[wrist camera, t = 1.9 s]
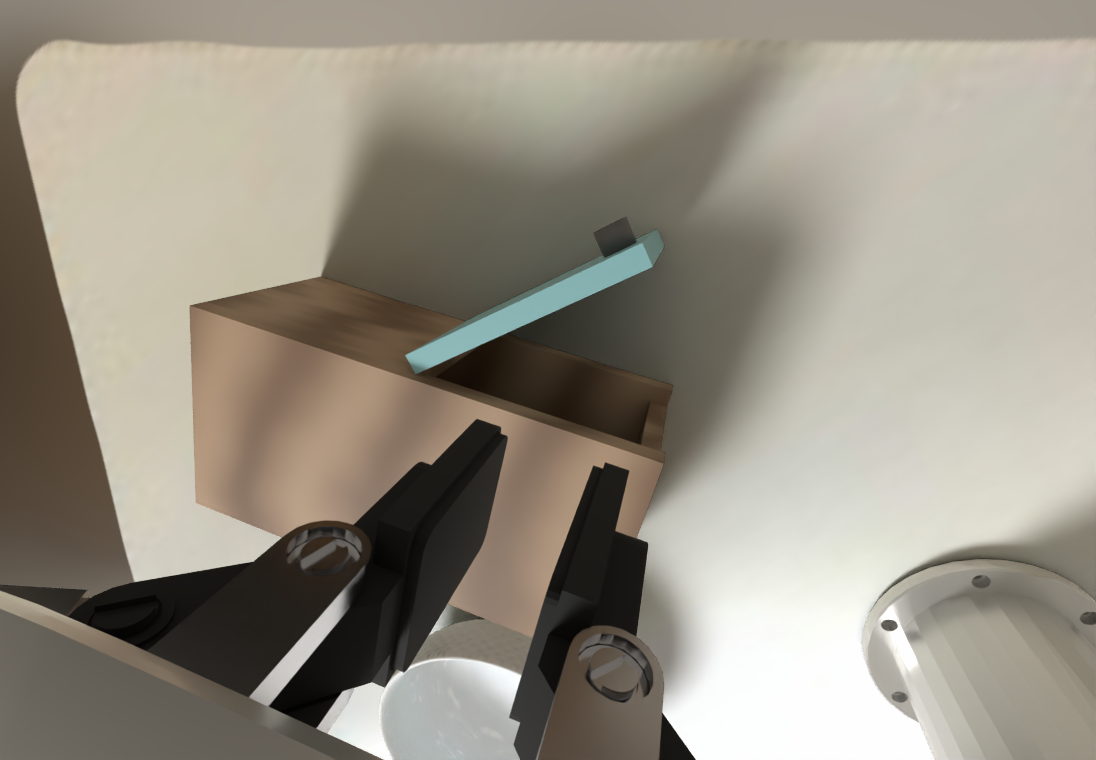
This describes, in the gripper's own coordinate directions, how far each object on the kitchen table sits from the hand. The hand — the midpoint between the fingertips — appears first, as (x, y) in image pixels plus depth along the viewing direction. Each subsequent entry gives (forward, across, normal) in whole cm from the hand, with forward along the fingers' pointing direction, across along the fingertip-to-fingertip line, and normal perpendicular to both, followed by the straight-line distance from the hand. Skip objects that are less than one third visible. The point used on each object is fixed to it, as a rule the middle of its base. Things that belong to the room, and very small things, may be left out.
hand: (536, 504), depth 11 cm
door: (+21, +5, -1) cm, 21 cm away
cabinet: (+21, +9, +10) cm, 25 cm away
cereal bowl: (+21, +1, +31) cm, 38 cm away
